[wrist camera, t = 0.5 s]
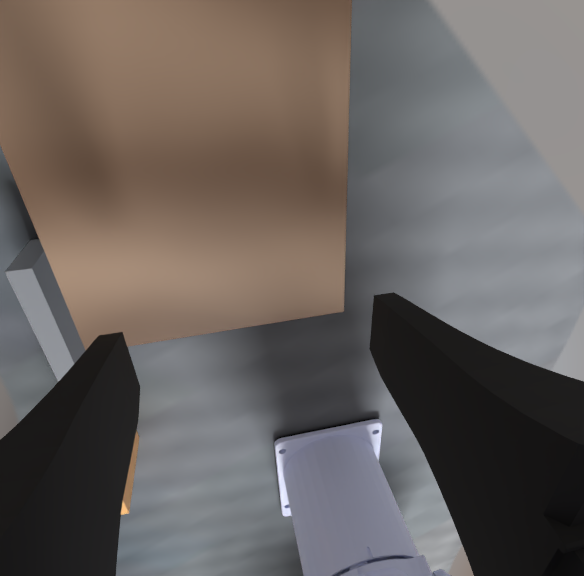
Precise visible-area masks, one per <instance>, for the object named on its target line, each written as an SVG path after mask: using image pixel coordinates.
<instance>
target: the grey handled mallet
mask: <svg viewBox="0 0 584 576" xmlns="http://www.w3.org/2000/svg"><path fill="white" fill-rule="evenodd" d="M5 273H6V275H7V277H8V280H9V282H10V284H11V286H12V288H13V290H14V292H15V294H16V296H17V298H18V300H19V302H20V304H21V306H22V308H23V310H24V312H25V314H26V316H27V319H28V321H29V323H30V325H31V327H32V329H33V331H34V333H35V335H36V337H37V339H38V341H39V343H40V345H41V347H42V349H43V351H44V353H45V355H46V358H47V360H48V362H49V364H50V366H51V368H52V370H53V372H54V374H55V376H56V378H57V380H58V382H59V381H60V380H61V378H62V377H63V376H64V375H65V374H66V373H67V372H68V371H69V369H70V368H71V367H72V366H73V365H74V364H75V362H76V361H77V360H78V359H79V358H80V357H81V355H82V354H83V353H84V352H85V351H86V350H85V348H84V346H83V343H82V341H81V338H80V336H79V334H78V331H77V329H76V326H75V324H74V321H73V319H72V317H71V314H70V312H69V309H68V307H67V305H66V302H65V300H64V297H63V295H62V293H61V290H60V288H59V285H58V283H57V280H56V278H55V276H54V273H53V271H52V268H51V266H50V264H49V261H48V259H47V256H46V254H45V252H44V249H43V247H42V244H41V242H40V239H35V240H30V241H29V242H28V243H27V245H26V246H25V247H24V248H23V250H22V251H21V252H20V253H19V255H18V256H17V257H16V258H15V260H14V261H13V262H12V263H11V265H10V266H9V267H8V268H7V270H6V271H5ZM138 444H139V436H138V433H137V430H136V435H135V440H134V445H133V451H132V456H131V461H130V466H129V471H128V476H127V481H126V486H125V491H124V497H123V503H122V510H121V515H123V514H127V513H129V509H130V502H131V495H132V488H133V480H134V473H135V466H136V458H137V451H138Z"/></svg>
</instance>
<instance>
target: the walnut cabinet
mask: <svg viewBox="0 0 584 576" xmlns="http://www.w3.org/2000/svg"><path fill="white" fill-rule="evenodd" d="M351 13H352V0H0V145H1V148H2V150H3V153H4V155H5V158H6V160H7V162H8V165H9V167H10V170H11V172H12V174H13V177H14V179H15V182H16V184H17V186H18V189H19V191H20V194H21V196H22V199H23V201H24V203H25V206H26V208H27V211H28V213H29V215H30V218H31V220H32V223H33V225H34V227H35V230H36V232H37V235H38V237H39V239H40V242H41V244H42V247H43V249H44V252H45V254H46V256H47V259H48V261H49V264H50V266H51V268H52V271H53V273H54V276H55V278H56V280H57V283H58V285H59V288H60V290H61V293H62V295H63V297H64V300H65V302H66V305H67V307H68V309H69V312H70V314H71V317H72V319H73V321H74V324H75V326H76V329H77V331H78V334H79V336H80V338H81V341H82V343H83V346H84V348H85V350H87V348H88V347H89V346H90V345H91V344H92V343H93V341H94V340H95V339H96V338H97V337H98V336H99V335H104V334H111V333H118V332H123V335H124V338H125V341H126V344H127V346H133V345H139V344H146V343H152V342H158V341H164V340H171V339H177V338H183V337H189V336H195V335H202V334H208V333H214V332H220V331H227V330H233V329H239V328H245V327H252V326H258V325H264V324H270V323H276V322H283V321H289V320H295V319H301V318H308V317H314V316H320V315H326V314H332V313H339V312H344V287H345V248H346V209H347V170H348V130H349V91H350V52H351Z"/></svg>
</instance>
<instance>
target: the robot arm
mask: <svg viewBox="0 0 584 576" xmlns="http://www.w3.org/2000/svg"><path fill="white" fill-rule="evenodd" d="M370 351H371V353H372V356H373V358H374V361H375V364H376V366H377V368H378V371H379V373H380V376H381V378H382V379H383V381H384V383H385V385H386V387H387V388H388V390H389V392H390V394H391V395H392V397H393V399H394V401H395V402H396V404H397V406H398V408H399V409H400V411H401V413H402V415H403V416H404V418H405V420H406V421H407V423H408V425H409V427H410V428H411V430H412V432H413V434H414V435H415V437H416V439H417V441H418V443H419V445H420V446H421V448H422V450H423V452H424V454H425V457H426V459H427V461H428V463H429V465H430V468H431V470H432V472H433V474H434V477H435V479H436V481H437V483H438V486H439V488H440V490H441V493H442V495H443V498H444V500H445V502H446V505H447V507H448V509H449V512H450V514H451V517H452V519H453V522H454V524H455V527H456V529H457V532H458V534H459V537H460V540H461V542H462V545H463V547H464V550H465V552H466V555H467V557H468V560H469V563H470V566H471V568H472V571H473V574H474V576H584V382H583V381H580V380H577V379H574V378H570V377H567V376H564V375H561V374H558V373H555V372H553V371H550V370H547V369H544V368H541V367H538V366H536V365H533V364H530V363H528V362H525V361H523V360H520V359H518V358H516V357H513V356H511V355H509V354H506V353H504V352H502V351H499V350H497V349H495V348H493V347H491V346H488V345H486V344H484V343H482V342H480V341H478V340H476V339H474V338H472V337H470V336H469V335H467V334H465V333H463V332H461V331H459V330H457V329H455V328H454V327H452V326H450V325H448V324H447V323H445V322H443V321H441V320H440V319H438V318H436V317H435V316H433V315H431V314H429V313H428V312H426V311H424V310H423V309H421V308H419V307H418V306H416V305H414V304H413V303H411V302H409V301H408V300H406V299H404V298H403V297H401V296H399V295H397V294H395V293H388V294H381V295H374V303H373V315H372V327H371V339H370ZM139 398H140V385H139V382H138V379H137V376H136V373H135V369H134V366H133V363H132V360H131V357H130V354H129V351H128V348H127V344H126V341H125V338H124V335H123V332H118V333H111V334H104V335H99V336H98V337H97V338H96V339H95V340H94V341H93V343H92V344H91V345H90V346H89V347H88V348H87V350H86V351H85V352H84V353H83V354H82V355H81V357H80V358H79V359H78V360H77V361H76V362H75V364H74V365H73V366H72V367H71V368H70V369H69V371H68V372H67V373H66V374H65V375H64V376H63V377H62V378H61V380H60V381H59V382H58V383H57V384H56V385H55V386H54V388H53V389H52V390H51V391H50V392H49V393H48V394H47V395H46V396H45V397H44V398H43V399H42V400H41V401H40V402H39V403H38V404H37V405H36V406H35V407H34V408H33V409H32V410H31V411H30V412H29V413H28V414H27V415H26V416H25V417H24V418H23V419H22V420H21V421H20V422H19V423H18V424H17V425H16V426H15V427H14V428H13V429H12V430H11V431H10V432H9V433H8V434H6V436H4V437H3V438H2V439H1V440H0V576H116V562H117V550H118V538H119V527H120V516H121V510H122V503H123V497H124V491H125V486H126V481H127V476H128V471H129V466H130V461H131V456H132V451H133V445H134V440H135V435H136V429H137V424H138V415H139ZM381 434H382V423H381V421H380V420H379V419H373V420H368V421H363V422H358V423H353V424H348V425H343V426H338V427H333V428H328V429H323V430H318V431H313V432H308V433H303V434H299V435H294V436H289V437H284V438H280V439H277V440H276V441H275V443H274V447H275V456H276V465H277V474H278V483H279V492H280V501H281V510H282V515H283V516H292V521H293V526H294V530H295V535H296V540H297V545H298V550H299V555H300V560H301V565H302V570H303V575H304V576H451V575H449V574H447V573H446V572H445V571H444V570H442V569H439V570H437V571H434V572H433V574H432V572H431V570H430V567H429V565H428V563H427V561H426V558H425V556H424V555H421V556H419V553H418V551H417V549H416V546H415V544H414V542H413V540H412V537H411V535H410V533H409V530H408V528H407V526H406V523H405V521H404V519H403V516H402V514H401V512H400V510H399V507H398V505H397V503H396V500H395V498H394V496H393V493H392V491H391V489H390V486H389V484H388V482H387V480H386V477H385V475H384V473H383V470H382V468H381V466H380V463H379V453H380V444H381Z"/></svg>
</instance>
